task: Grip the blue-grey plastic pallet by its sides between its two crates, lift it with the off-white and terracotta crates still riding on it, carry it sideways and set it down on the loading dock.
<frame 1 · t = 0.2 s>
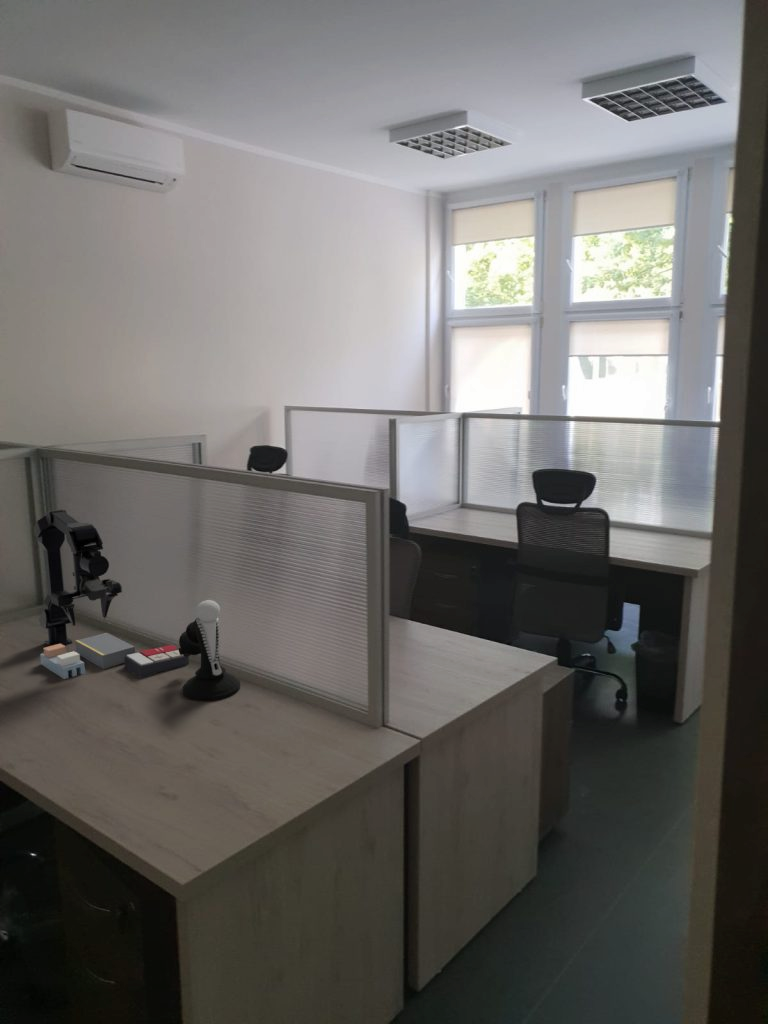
hand: (89, 621, 225), 14 cm above the table, tool pointing down, fingers open, 9 cm apart
sculpture: (204, 685, 214), on the table
pallet: (63, 669, 226), on the table, touching terracotta crate
terracotta crate: (55, 654, 229), point 3 cm above the table, touching pallet
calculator: (157, 667, 228), on the table
white crate: (68, 662, 222), point 3 cm above the table
dock: (105, 656, 235), on the table
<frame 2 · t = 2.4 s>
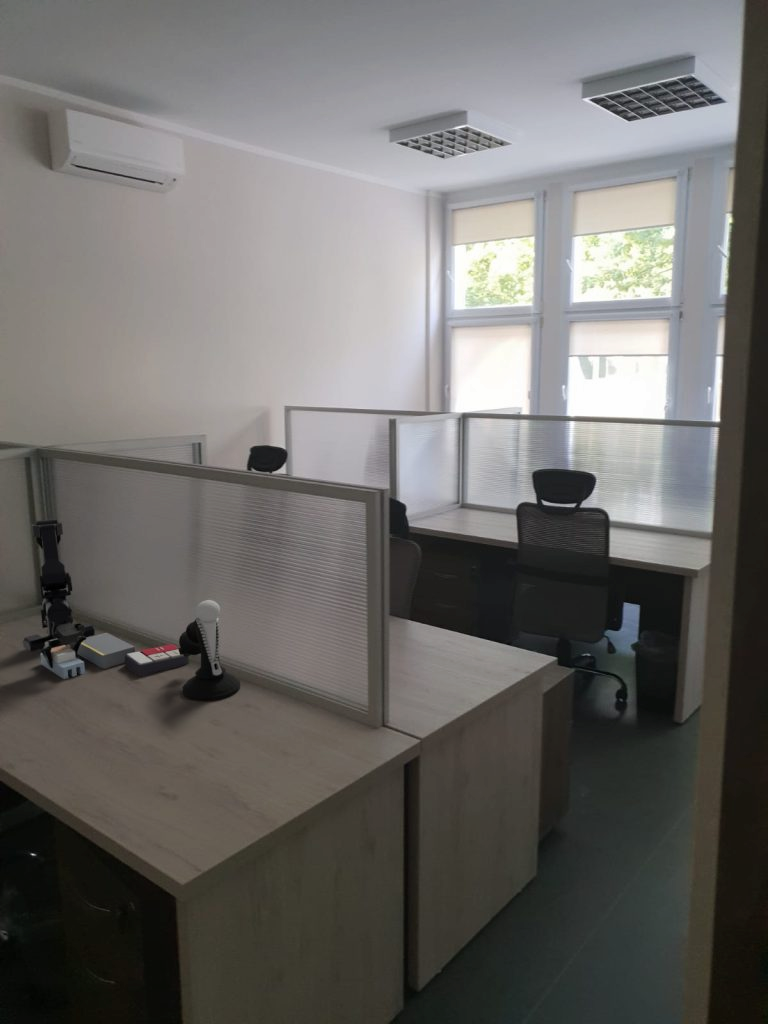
hand: (62, 664, 226), 1 cm above the table, tool pointing down, fingers closed on pallet, 6 cm apart
pallet: (63, 669, 226), on the table, touching gripper, terracotta crate, white crate
terracotta crate: (59, 656, 227), point 3 cm above the table, touching pallet
white crate: (64, 659, 224), point 3 cm above the table, touching pallet
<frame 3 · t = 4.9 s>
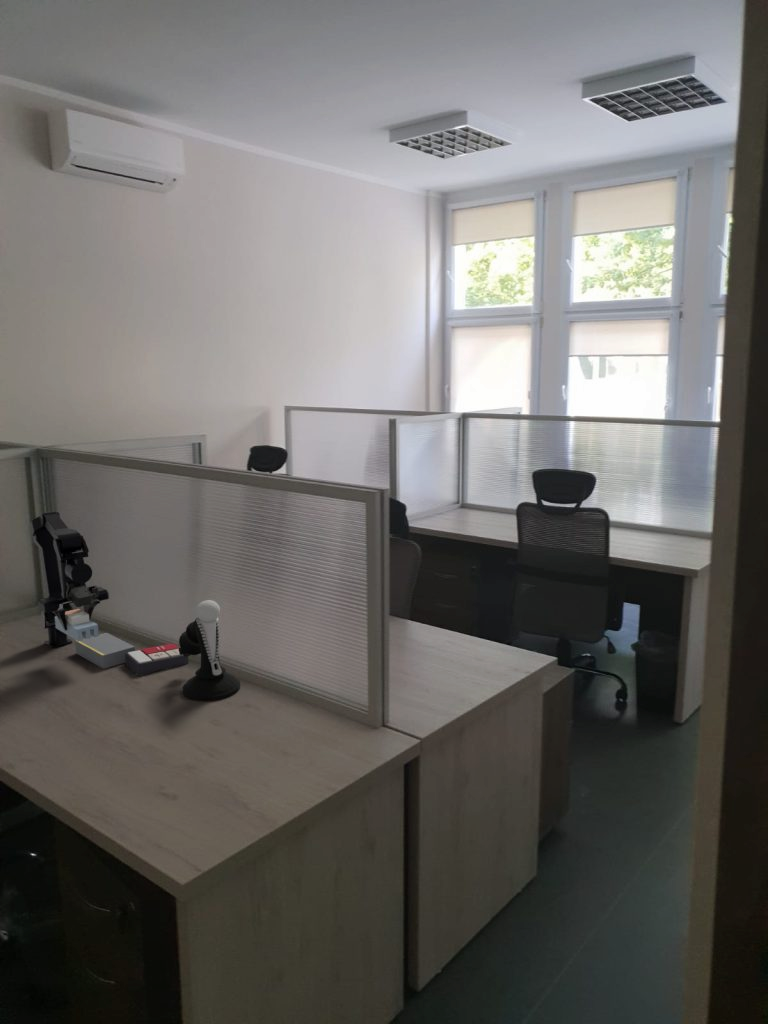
hand: (76, 627, 228), 11 cm above the table, tool pointing down, fingers closed on pallet, 6 cm apart
pallet: (76, 632, 228), point 10 cm above the table, touching gripper, terracotta crate, white crate
terracotta crate: (73, 619, 229), point 13 cm above the table, touching pallet
white crate: (78, 622, 226), point 13 cm above the table, touching pallet
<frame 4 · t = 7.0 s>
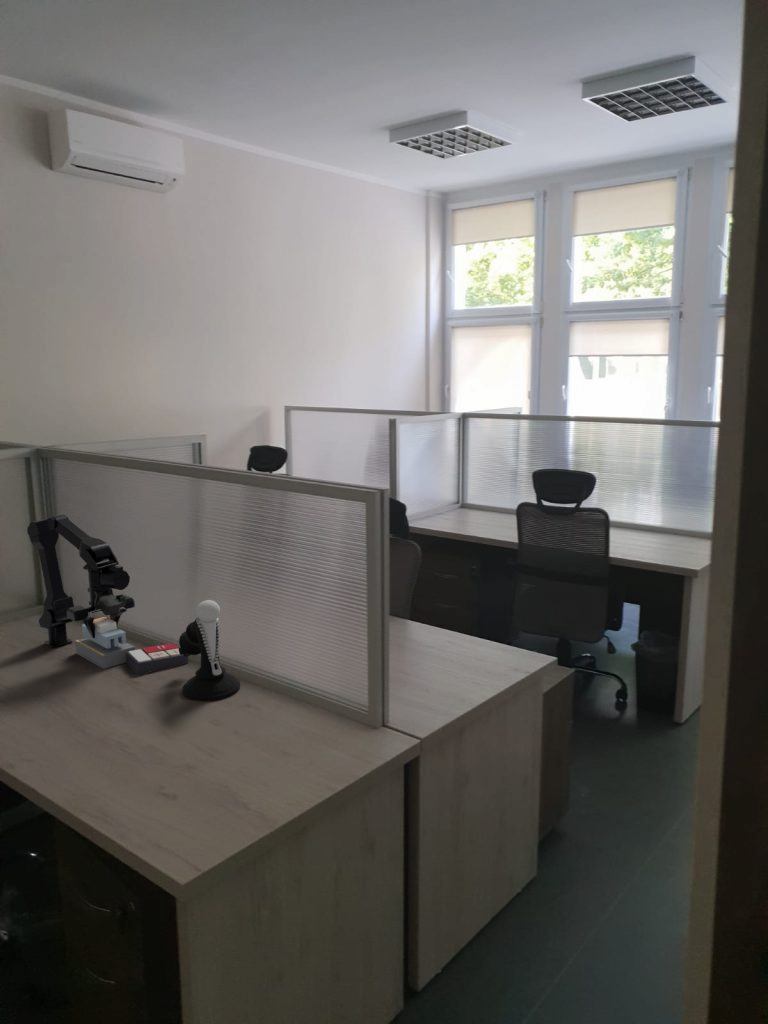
hand: (103, 635, 234), 7 cm above the table, tool pointing down, fingers closed on pallet, 6 cm apart
pallet: (104, 639, 234), point 5 cm above the table, touching gripper, terracotta crate, white crate
terracotta crate: (100, 626, 235), point 9 cm above the table, touching pallet
white crate: (105, 629, 232), point 9 cm above the table, touching pallet
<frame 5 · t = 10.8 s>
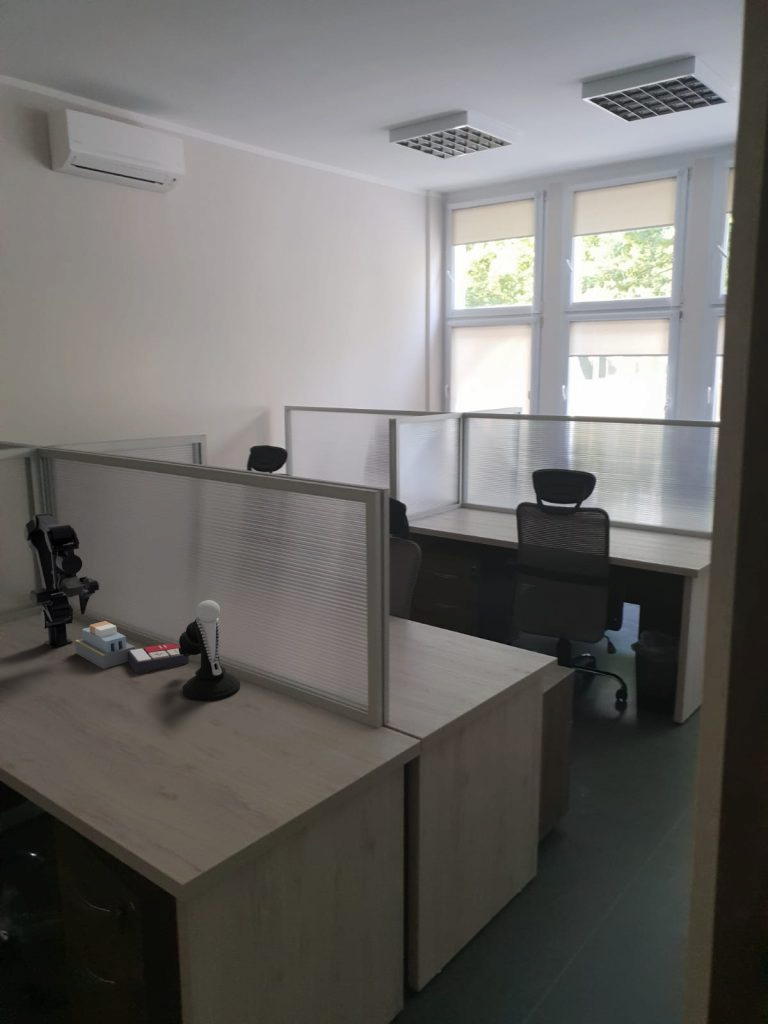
hand: (67, 617, 234), 12 cm above the table, tool pointing down, fingers open, 9 cm apart
pallet: (104, 643, 235), point 4 cm above the table, touching dock, terracotta crate, white crate
terracotta crate: (100, 631, 235), point 7 cm above the table, touching pallet
white crate: (106, 634, 233), point 7 cm above the table, touching pallet
at the end: pallet 0.0 cm off-centre on the dock, point 4.0 cm above the dock's base; white crate inside the target area on the pallet (1.8 cm from its centre), point 3.5 cm above the pallet's base; terracotta crate inside the target area on the pallet (1.8 cm from its centre), point 3.5 cm above the pallet's base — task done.
